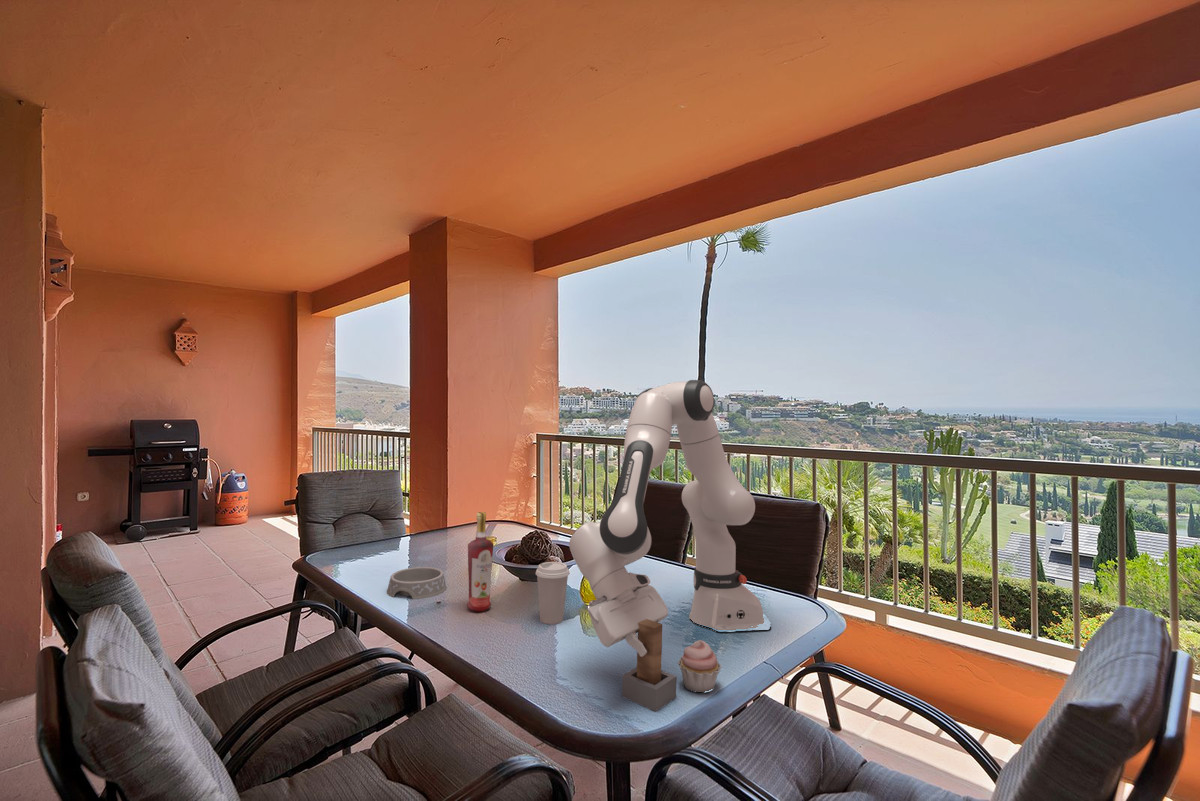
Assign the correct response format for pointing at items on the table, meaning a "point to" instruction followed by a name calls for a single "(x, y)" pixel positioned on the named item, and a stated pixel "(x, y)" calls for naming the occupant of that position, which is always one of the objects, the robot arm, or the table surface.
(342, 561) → the table surface
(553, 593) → the coffee cup
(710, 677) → the cupcake
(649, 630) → the brown wooden block
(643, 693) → the end cap
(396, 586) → the dog bowl
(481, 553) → the liquor
